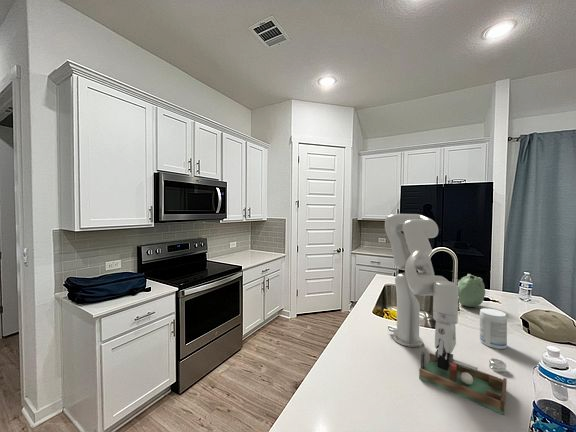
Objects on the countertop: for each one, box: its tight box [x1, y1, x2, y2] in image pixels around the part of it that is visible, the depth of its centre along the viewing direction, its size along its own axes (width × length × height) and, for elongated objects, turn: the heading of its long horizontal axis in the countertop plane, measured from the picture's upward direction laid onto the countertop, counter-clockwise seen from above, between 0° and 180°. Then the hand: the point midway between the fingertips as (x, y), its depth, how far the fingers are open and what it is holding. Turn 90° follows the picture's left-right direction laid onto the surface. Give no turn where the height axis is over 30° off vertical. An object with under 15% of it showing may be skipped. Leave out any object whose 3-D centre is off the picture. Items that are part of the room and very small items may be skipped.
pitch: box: [418, 351, 508, 416], centre depth 86 cm, size 24×14×6 cm, turn 46°
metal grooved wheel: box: [488, 358, 507, 374], centre depth 95 cm, size 5×3×5 cm
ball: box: [460, 372, 473, 385], centre depth 85 cm, size 4×4×4 cm
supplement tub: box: [479, 307, 508, 350], centre depth 112 cm, size 10×10×15 cm
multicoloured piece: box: [434, 349, 478, 381], centre depth 87 cm, size 12×3×7 cm, turn 46°
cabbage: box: [457, 273, 486, 308], centre depth 158 cm, size 16×19×20 cm
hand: (444, 365), depth 90 cm, fingers closed on multicoloured piece, 3 cm apart
